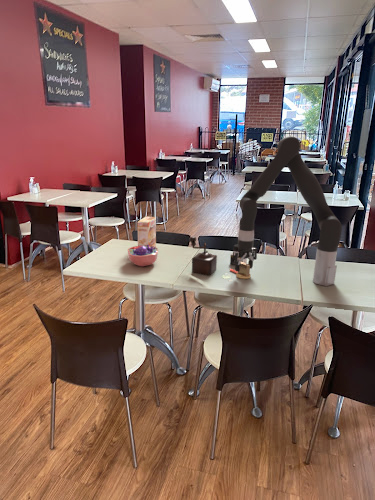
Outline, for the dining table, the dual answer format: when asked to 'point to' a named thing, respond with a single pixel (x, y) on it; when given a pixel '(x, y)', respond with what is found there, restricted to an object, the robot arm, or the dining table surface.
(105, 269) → the dining table surface
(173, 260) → the dining table surface
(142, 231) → the coffeecake box
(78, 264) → the dining table surface
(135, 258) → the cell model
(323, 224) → the robot arm
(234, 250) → the medicine bottle
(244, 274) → the brown block with rod
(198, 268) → the pepper mill
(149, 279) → the dining table surface
